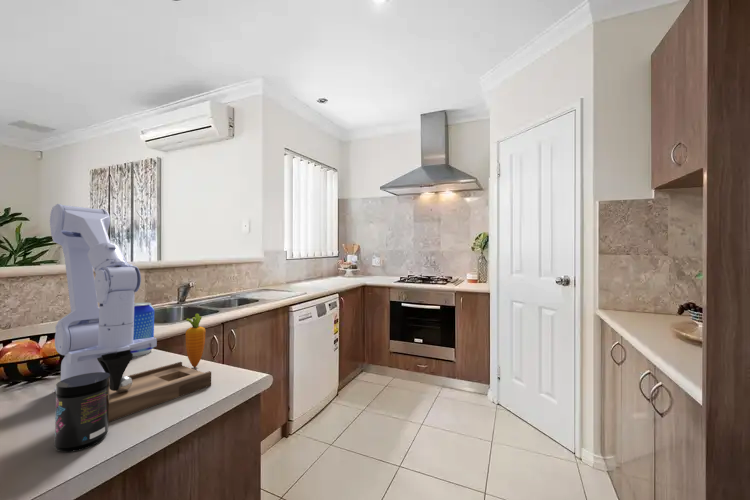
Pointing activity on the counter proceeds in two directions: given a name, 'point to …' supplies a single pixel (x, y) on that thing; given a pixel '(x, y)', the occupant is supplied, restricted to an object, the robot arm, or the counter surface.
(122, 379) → the ball
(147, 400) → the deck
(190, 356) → the carrot
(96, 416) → the supplement container
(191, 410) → the counter surface
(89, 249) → the robot arm
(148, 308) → the beer can
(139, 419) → the counter surface
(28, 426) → the counter surface
